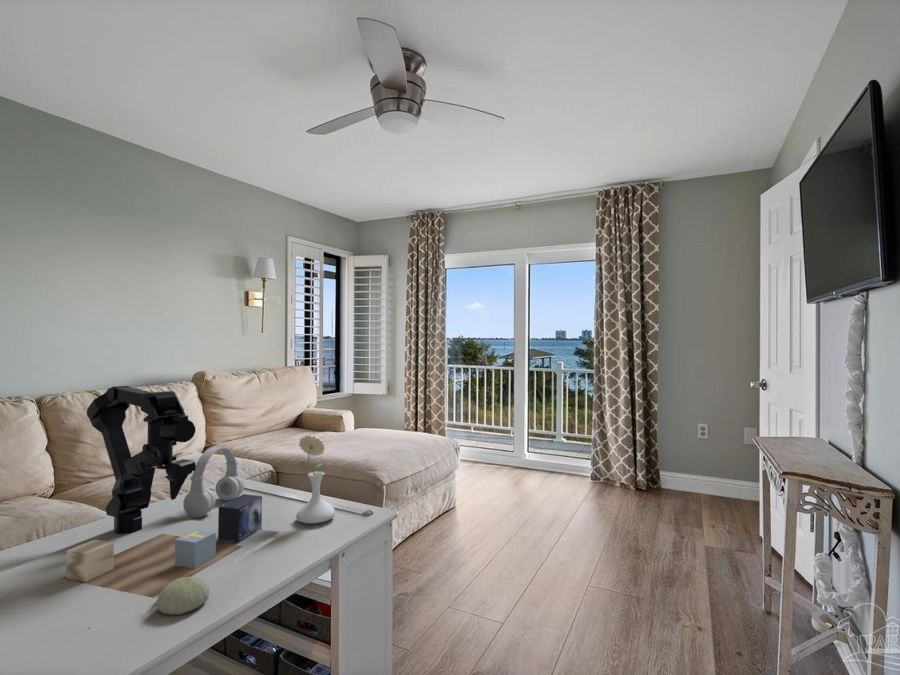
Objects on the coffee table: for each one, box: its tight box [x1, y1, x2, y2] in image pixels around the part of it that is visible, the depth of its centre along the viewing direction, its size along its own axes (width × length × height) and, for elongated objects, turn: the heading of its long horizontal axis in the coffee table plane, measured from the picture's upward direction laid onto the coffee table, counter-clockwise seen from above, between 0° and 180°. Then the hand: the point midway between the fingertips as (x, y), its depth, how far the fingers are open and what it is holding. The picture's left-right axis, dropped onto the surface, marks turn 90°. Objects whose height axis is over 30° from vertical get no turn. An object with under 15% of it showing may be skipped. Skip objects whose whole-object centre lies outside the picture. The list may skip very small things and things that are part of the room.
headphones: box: [183, 446, 245, 519], centre depth 149 cm, size 20×8×19 cm, turn 172°
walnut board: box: [60, 533, 244, 599], centre depth 109 cm, size 27×25×1 cm
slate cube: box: [175, 529, 217, 569], centre depth 109 cm, size 6×6×6 cm
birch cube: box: [65, 539, 115, 582], centre depth 103 cm, size 6×6×6 cm
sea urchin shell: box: [155, 576, 210, 616], centre depth 93 cm, size 9×8×8 cm
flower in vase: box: [295, 435, 336, 525], centre depth 138 cm, size 13×11×25 cm
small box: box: [217, 493, 263, 544], centre depth 124 cm, size 11×6×10 cm, turn 168°
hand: (159, 497), depth 122 cm, fingers open, 9 cm apart
